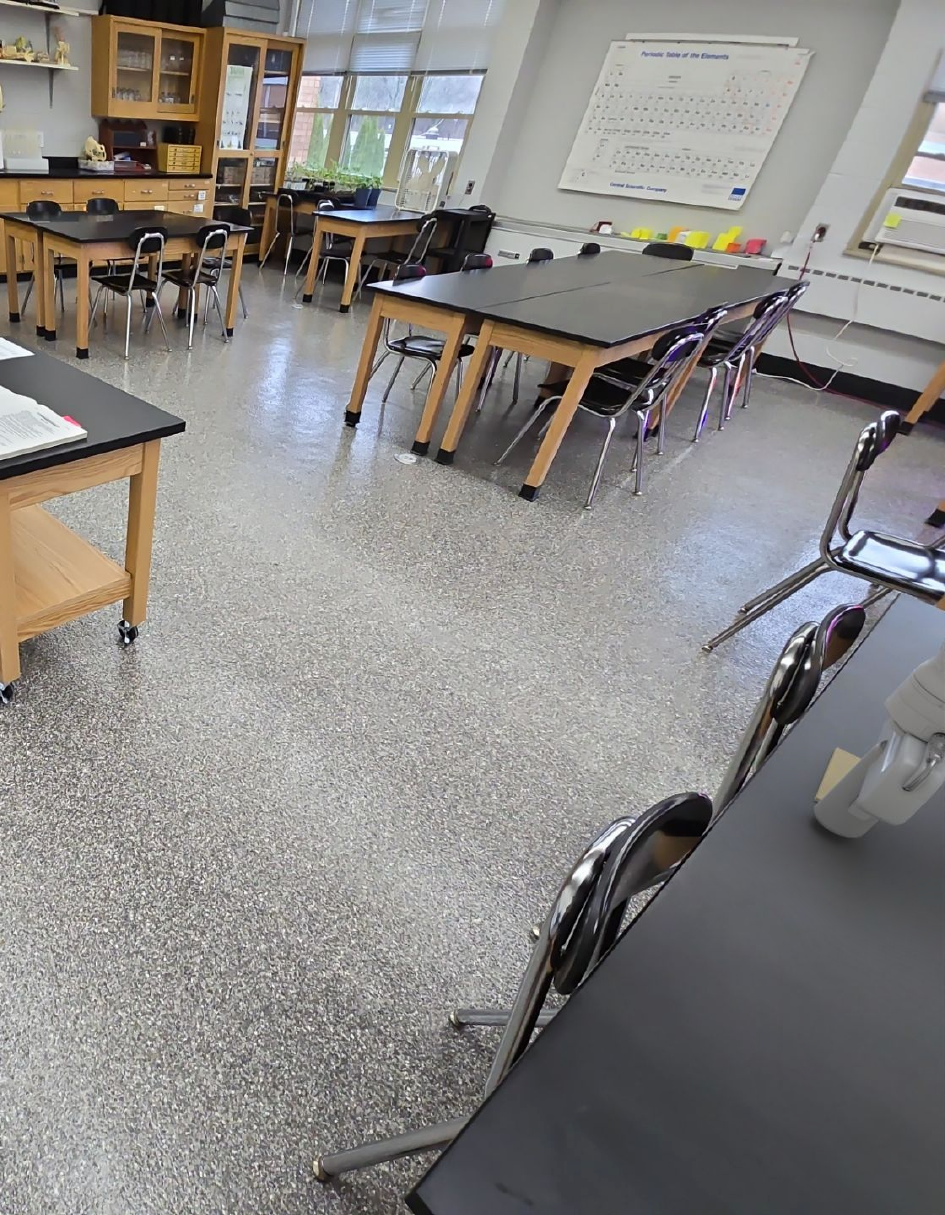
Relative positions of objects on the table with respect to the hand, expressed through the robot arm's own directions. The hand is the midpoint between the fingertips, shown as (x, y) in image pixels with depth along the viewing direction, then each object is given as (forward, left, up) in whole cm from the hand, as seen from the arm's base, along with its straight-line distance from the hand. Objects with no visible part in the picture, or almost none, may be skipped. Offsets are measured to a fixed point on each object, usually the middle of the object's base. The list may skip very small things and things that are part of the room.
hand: (861, 799), depth 83 cm
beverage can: (0, 0, -5) cm, 5 cm away
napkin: (-4, -10, -6) cm, 12 cm away
